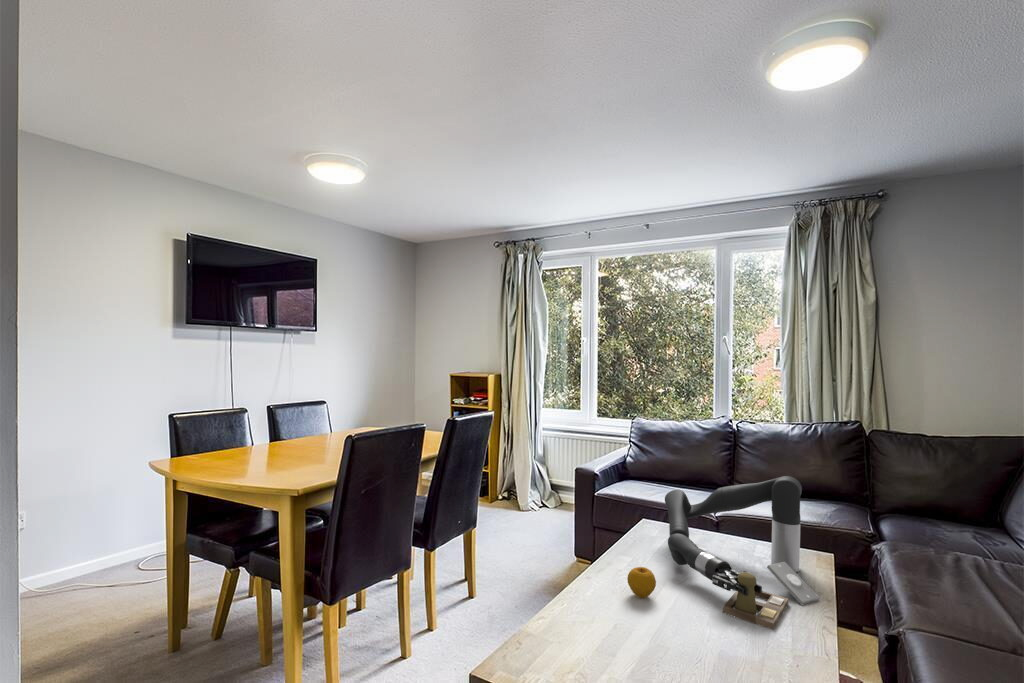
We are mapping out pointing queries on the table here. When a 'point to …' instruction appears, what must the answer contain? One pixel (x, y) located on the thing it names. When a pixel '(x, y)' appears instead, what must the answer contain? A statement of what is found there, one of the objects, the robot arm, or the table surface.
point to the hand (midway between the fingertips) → (753, 591)
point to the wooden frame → (760, 609)
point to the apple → (641, 581)
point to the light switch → (793, 583)
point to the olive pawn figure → (748, 601)
